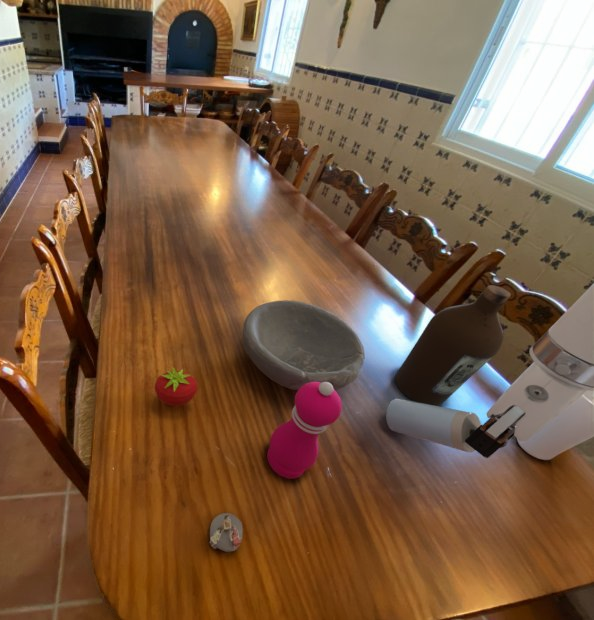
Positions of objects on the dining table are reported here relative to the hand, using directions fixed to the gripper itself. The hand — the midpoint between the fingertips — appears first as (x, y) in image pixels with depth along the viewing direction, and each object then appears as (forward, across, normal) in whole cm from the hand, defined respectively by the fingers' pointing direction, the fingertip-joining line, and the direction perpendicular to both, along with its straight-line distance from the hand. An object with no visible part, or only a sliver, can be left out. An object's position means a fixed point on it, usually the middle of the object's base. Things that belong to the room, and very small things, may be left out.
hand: (482, 443), depth 54 cm
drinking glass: (+9, +19, -5) cm, 22 cm away
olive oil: (+9, +13, +13) cm, 21 cm away
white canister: (+7, 0, +11) cm, 13 cm away
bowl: (+9, -7, +30) cm, 32 cm away
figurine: (+10, -39, +10) cm, 42 cm away
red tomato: (+9, -34, +32) cm, 48 cm away
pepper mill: (+9, -23, +15) cm, 29 cm away
